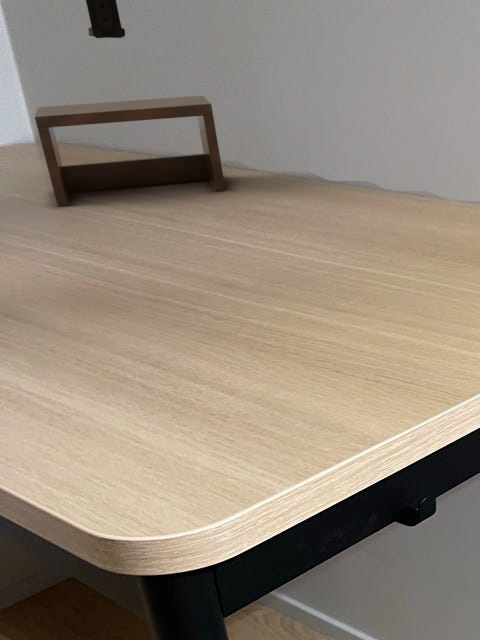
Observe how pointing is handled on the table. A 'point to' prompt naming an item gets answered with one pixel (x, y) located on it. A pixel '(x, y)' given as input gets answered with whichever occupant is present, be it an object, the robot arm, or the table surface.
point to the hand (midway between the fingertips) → (107, 34)
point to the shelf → (136, 169)
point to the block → (110, 37)
